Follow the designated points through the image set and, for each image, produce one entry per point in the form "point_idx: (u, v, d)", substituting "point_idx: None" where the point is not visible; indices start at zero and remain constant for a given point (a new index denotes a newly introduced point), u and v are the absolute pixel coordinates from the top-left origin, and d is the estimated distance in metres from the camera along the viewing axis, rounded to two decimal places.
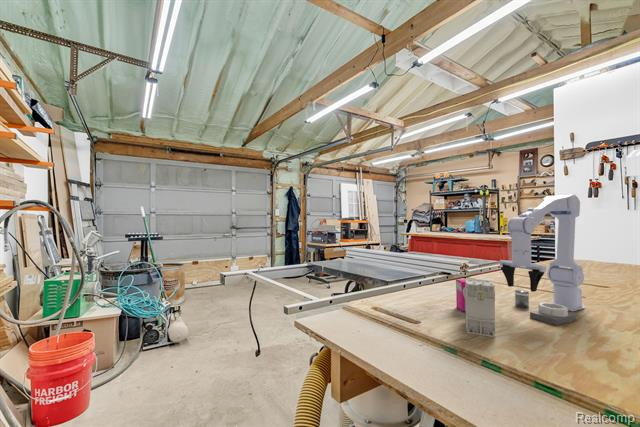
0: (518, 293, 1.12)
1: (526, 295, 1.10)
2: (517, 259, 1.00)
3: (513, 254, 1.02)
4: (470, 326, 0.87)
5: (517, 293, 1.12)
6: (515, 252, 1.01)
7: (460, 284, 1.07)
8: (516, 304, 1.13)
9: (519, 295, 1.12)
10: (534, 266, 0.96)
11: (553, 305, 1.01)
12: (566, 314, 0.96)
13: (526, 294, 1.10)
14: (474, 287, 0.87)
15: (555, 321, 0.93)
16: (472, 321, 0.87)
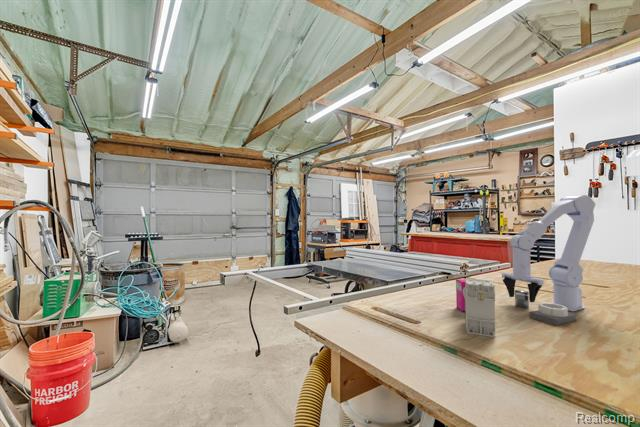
0: (518, 293, 1.12)
1: (526, 295, 1.10)
2: (518, 273, 1.11)
3: (514, 268, 1.13)
4: (470, 326, 0.87)
5: (517, 293, 1.12)
6: (516, 266, 1.12)
7: (460, 284, 1.07)
8: (516, 304, 1.13)
9: (519, 295, 1.12)
10: (533, 279, 1.08)
11: (553, 305, 1.01)
12: (566, 314, 0.96)
13: (526, 294, 1.10)
14: (474, 287, 0.87)
15: (555, 321, 0.93)
16: (472, 321, 0.87)
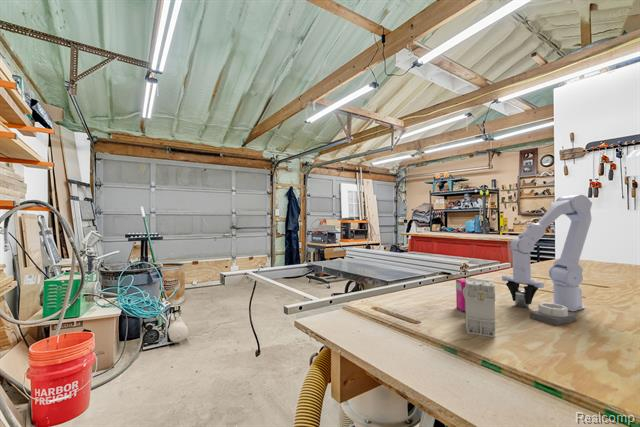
0: (518, 293, 1.12)
1: None
2: (518, 276, 1.11)
3: (514, 271, 1.13)
4: (470, 326, 0.87)
5: (517, 293, 1.12)
6: (516, 269, 1.12)
7: (460, 284, 1.07)
8: (516, 304, 1.13)
9: (519, 295, 1.12)
10: (533, 283, 1.08)
11: (553, 305, 1.01)
12: (566, 314, 0.96)
13: None
14: (474, 287, 0.87)
15: (555, 321, 0.93)
16: (472, 321, 0.87)
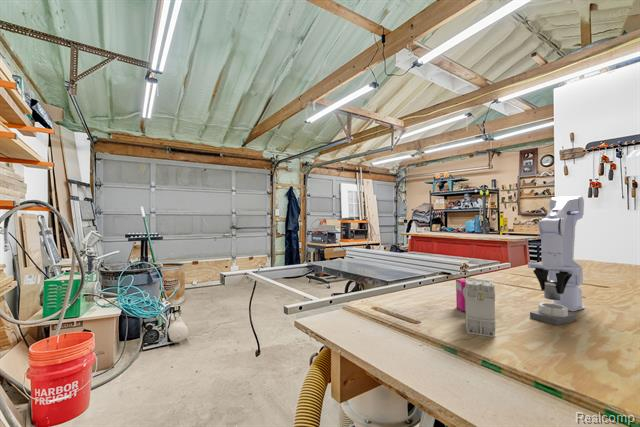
0: (549, 283, 0.98)
1: None
2: (548, 262, 0.98)
3: (543, 256, 0.99)
4: (470, 326, 0.87)
5: (548, 283, 0.98)
6: (546, 254, 0.98)
7: (460, 284, 1.07)
8: (546, 296, 0.99)
9: (549, 285, 0.98)
10: (566, 269, 0.94)
11: (553, 305, 1.01)
12: (566, 314, 0.96)
13: None
14: (474, 287, 0.87)
15: (555, 321, 0.93)
16: (472, 321, 0.87)
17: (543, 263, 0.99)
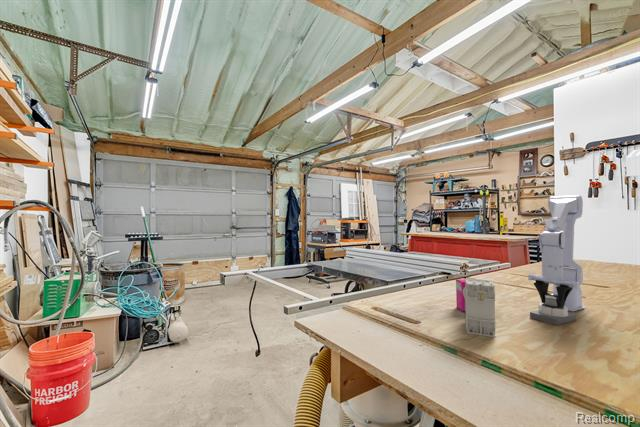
0: (549, 296, 0.98)
1: None
2: (549, 275, 0.97)
3: (544, 269, 0.99)
4: (470, 326, 0.87)
5: (548, 296, 0.98)
6: (546, 267, 0.98)
7: (460, 284, 1.07)
8: None
9: (550, 299, 0.98)
10: (567, 282, 0.94)
11: None
12: (566, 314, 0.96)
13: None
14: (474, 287, 0.87)
15: (555, 321, 0.93)
16: (472, 321, 0.87)
17: (543, 276, 0.99)
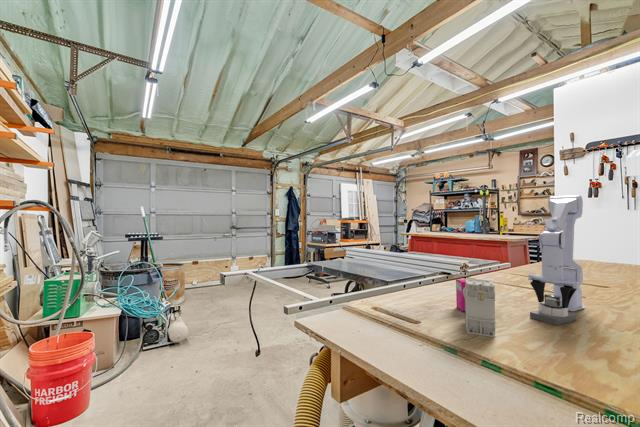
0: (549, 298, 0.98)
1: (559, 300, 0.97)
2: (549, 275, 0.97)
3: (544, 269, 0.99)
4: (470, 326, 0.87)
5: (548, 298, 0.98)
6: (546, 267, 0.98)
7: (460, 284, 1.07)
8: None
9: (550, 300, 0.98)
10: (567, 282, 0.94)
11: None
12: (566, 314, 0.96)
13: (559, 299, 0.97)
14: (474, 287, 0.87)
15: (555, 321, 0.93)
16: (472, 321, 0.87)
17: (543, 276, 0.99)
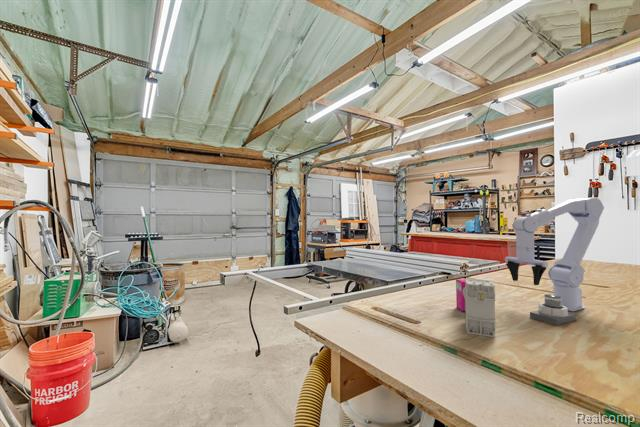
0: (549, 298, 0.98)
1: (559, 300, 0.97)
2: (522, 256, 1.09)
3: (518, 251, 1.11)
4: (470, 326, 0.87)
5: (548, 298, 0.98)
6: (519, 249, 1.10)
7: (460, 284, 1.07)
8: None
9: (550, 300, 0.98)
10: (537, 262, 1.05)
11: None
12: (566, 314, 0.96)
13: (559, 299, 0.97)
14: (474, 287, 0.87)
15: (555, 321, 0.93)
16: (472, 321, 0.87)
17: (517, 257, 1.11)
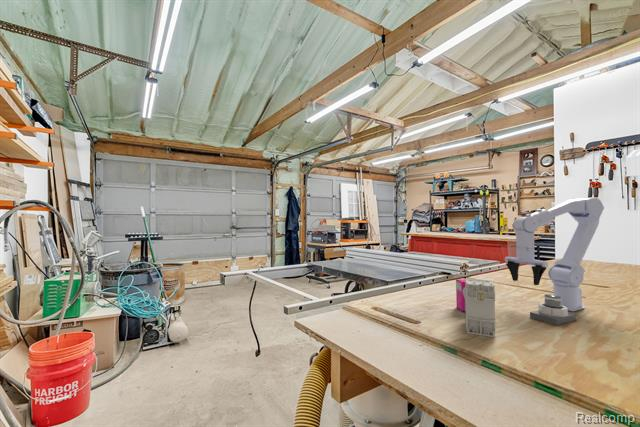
0: (549, 298, 0.98)
1: (559, 300, 0.97)
2: (522, 256, 1.09)
3: (518, 251, 1.11)
4: (470, 326, 0.87)
5: (548, 298, 0.98)
6: (519, 249, 1.10)
7: (460, 284, 1.07)
8: None
9: (550, 300, 0.98)
10: (537, 262, 1.05)
11: None
12: (566, 314, 0.96)
13: (559, 299, 0.97)
14: (474, 287, 0.87)
15: (555, 321, 0.93)
16: (472, 321, 0.87)
17: (517, 257, 1.11)
